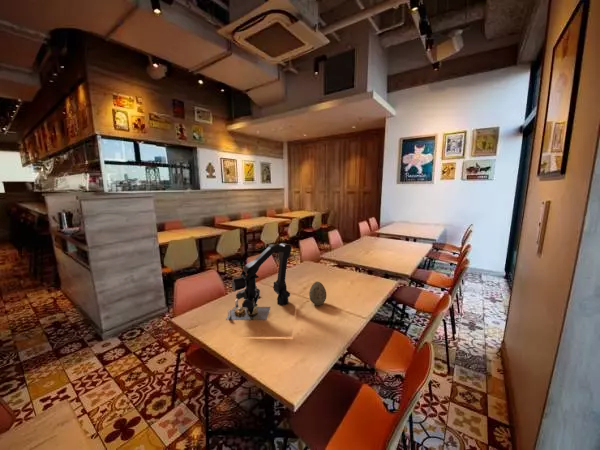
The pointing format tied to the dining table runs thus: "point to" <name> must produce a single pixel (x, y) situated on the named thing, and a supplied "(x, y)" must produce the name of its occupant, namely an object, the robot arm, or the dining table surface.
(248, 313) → the hollow octagonal tube
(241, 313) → the carrier
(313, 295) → the decorative egg
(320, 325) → the dining table surface
